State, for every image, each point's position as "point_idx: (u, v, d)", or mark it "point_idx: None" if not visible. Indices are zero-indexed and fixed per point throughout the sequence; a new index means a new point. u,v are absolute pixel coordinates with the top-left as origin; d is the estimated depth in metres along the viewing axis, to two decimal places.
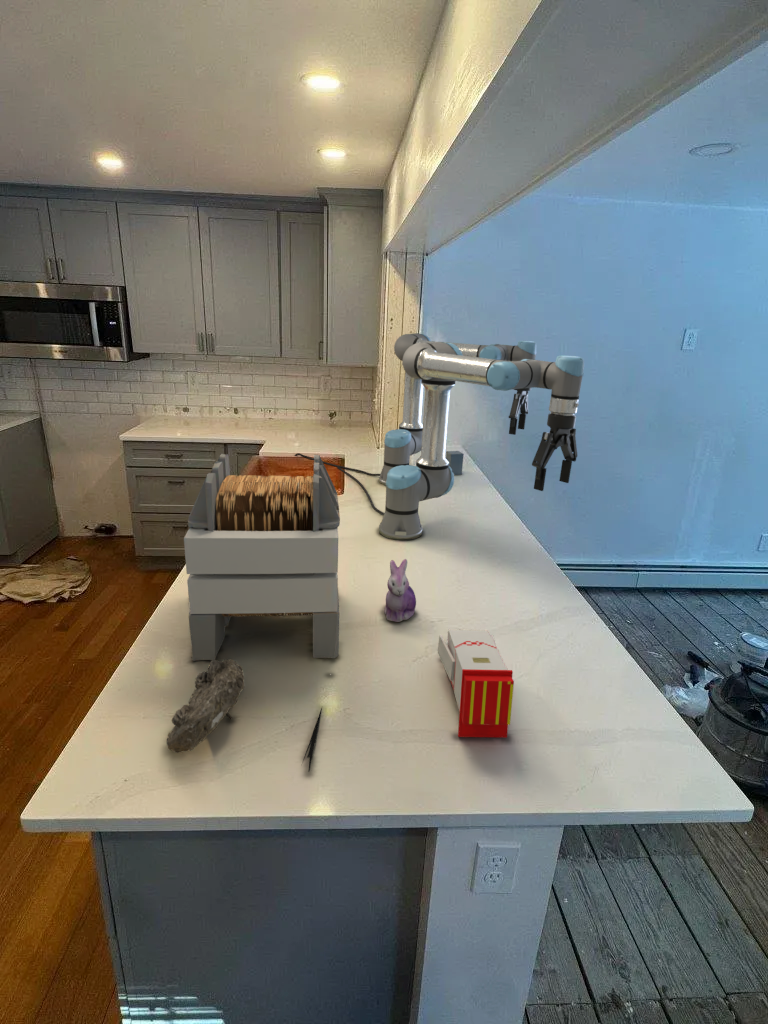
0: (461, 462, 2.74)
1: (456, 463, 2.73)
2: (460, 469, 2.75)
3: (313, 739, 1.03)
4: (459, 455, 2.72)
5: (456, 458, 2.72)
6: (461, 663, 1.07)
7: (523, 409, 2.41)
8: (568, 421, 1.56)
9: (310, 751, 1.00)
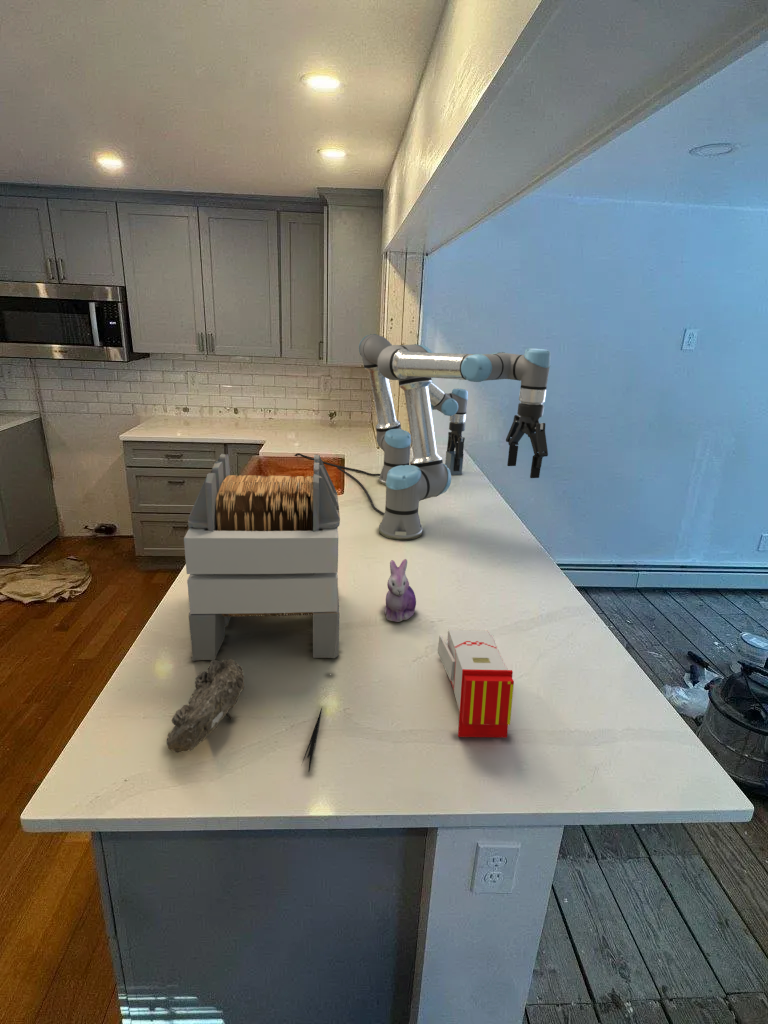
0: (461, 462, 2.74)
1: None
2: (460, 469, 2.75)
3: (313, 739, 1.03)
4: None
5: None
6: (461, 663, 1.07)
7: (452, 448, 2.77)
8: (543, 408, 1.69)
9: (310, 751, 1.00)
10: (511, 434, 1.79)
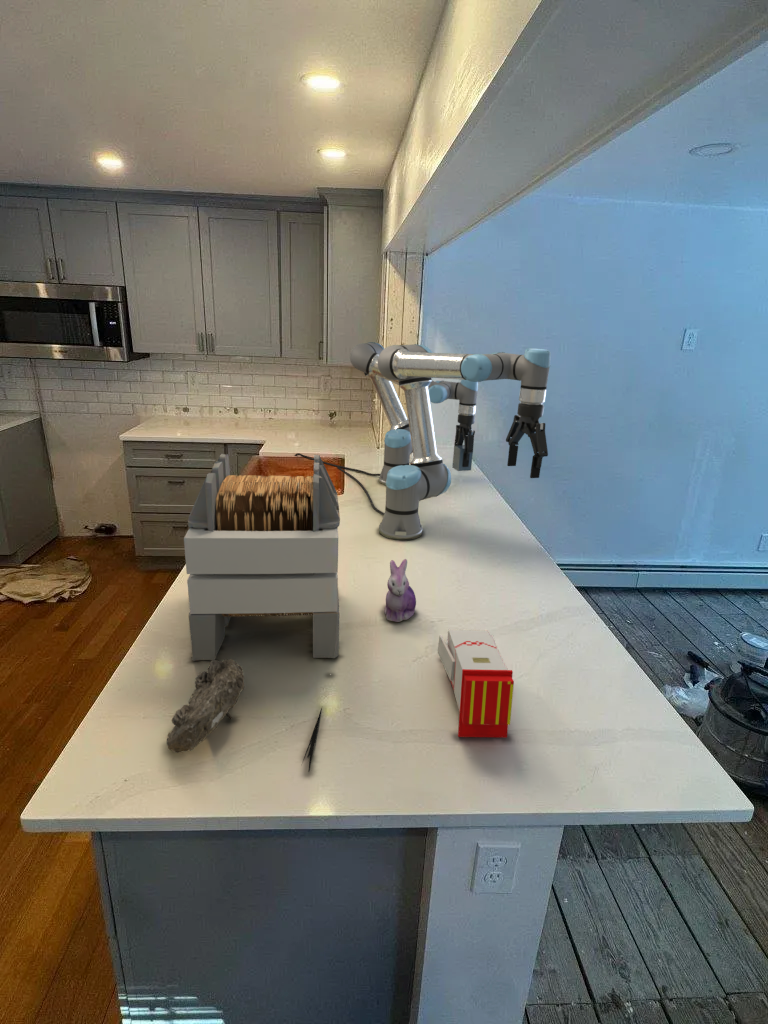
0: (470, 457, 2.56)
1: None
2: (470, 464, 2.57)
3: (313, 739, 1.03)
4: None
5: None
6: (461, 663, 1.07)
7: (461, 442, 2.58)
8: (543, 408, 1.69)
9: (310, 751, 1.00)
10: (511, 434, 1.79)
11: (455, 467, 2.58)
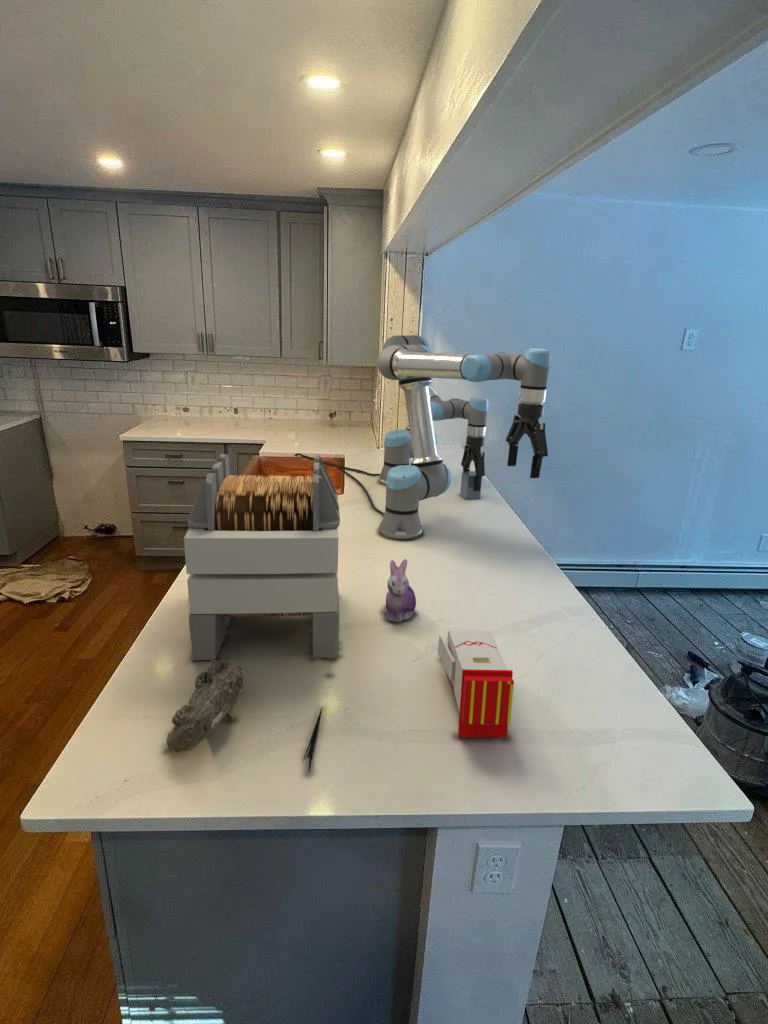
0: None
1: (473, 485, 2.39)
2: (478, 492, 2.41)
3: (313, 739, 1.03)
4: None
5: (473, 480, 2.38)
6: (461, 663, 1.07)
7: (468, 463, 2.43)
8: (543, 408, 1.69)
9: (310, 751, 1.00)
10: (511, 434, 1.79)
11: (463, 495, 2.42)
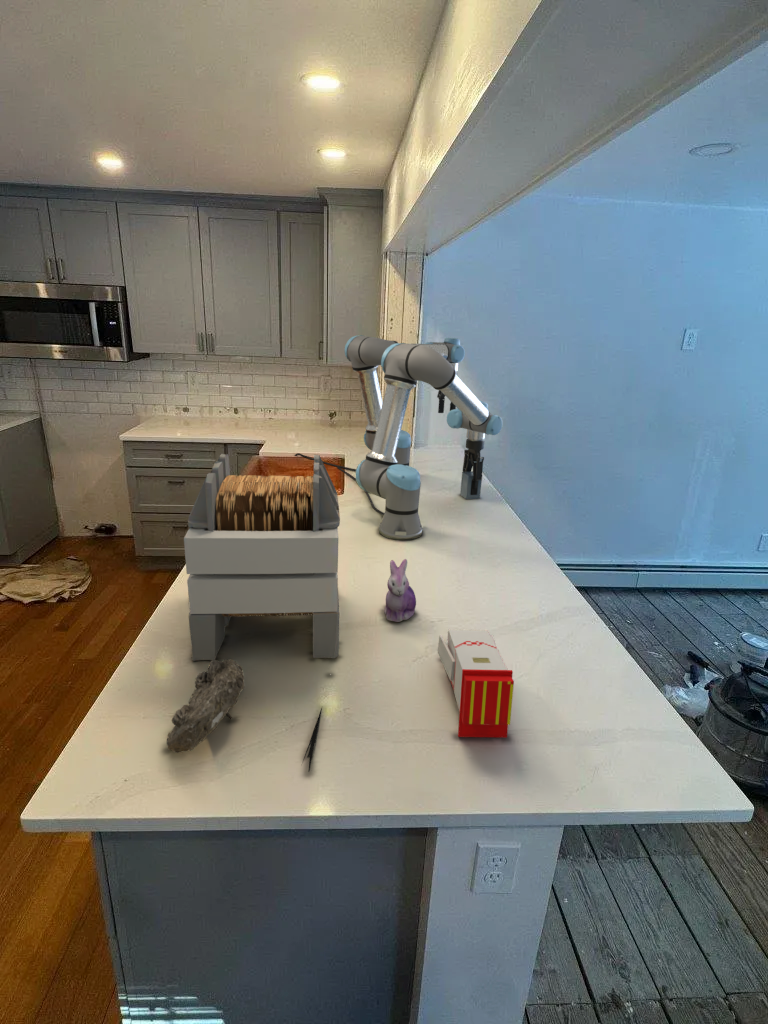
0: (479, 484, 2.40)
1: None
2: (478, 492, 2.41)
3: (313, 739, 1.03)
4: None
5: None
6: (461, 663, 1.07)
7: (443, 395, 2.82)
8: None
9: (310, 751, 1.00)
10: (465, 465, 2.44)
11: (463, 495, 2.42)
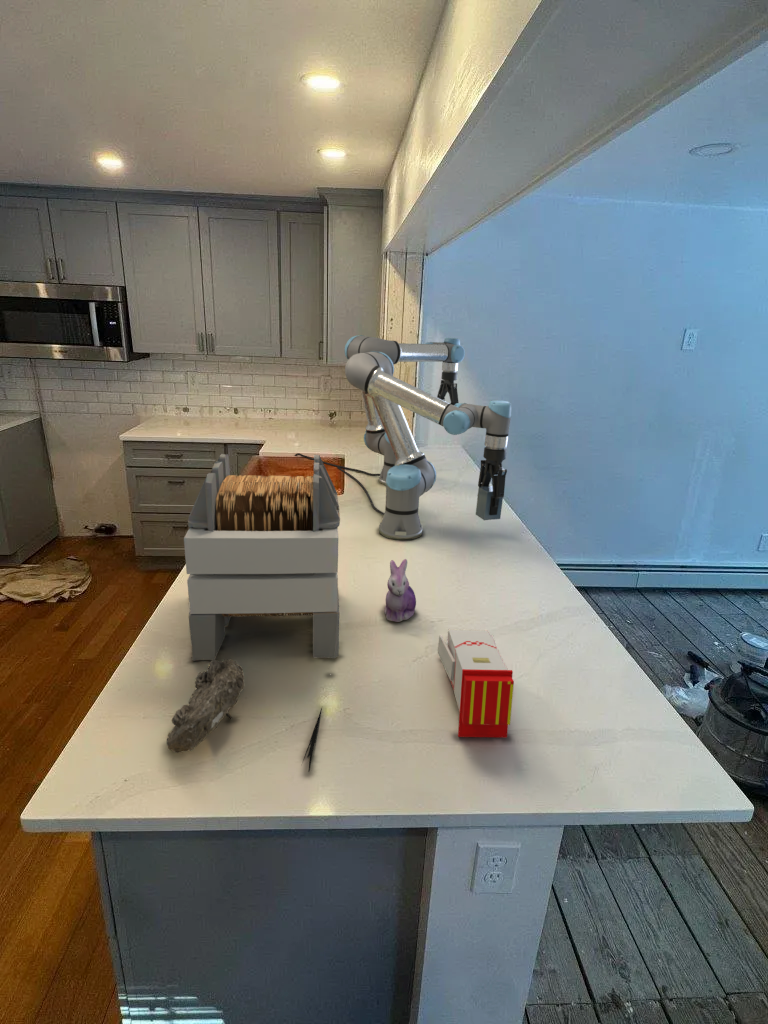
0: (500, 502, 1.97)
1: None
2: (499, 511, 1.98)
3: (313, 739, 1.03)
4: None
5: None
6: (461, 663, 1.07)
7: (443, 395, 2.82)
8: None
9: (310, 751, 1.00)
10: (481, 478, 2.01)
11: (480, 515, 1.99)
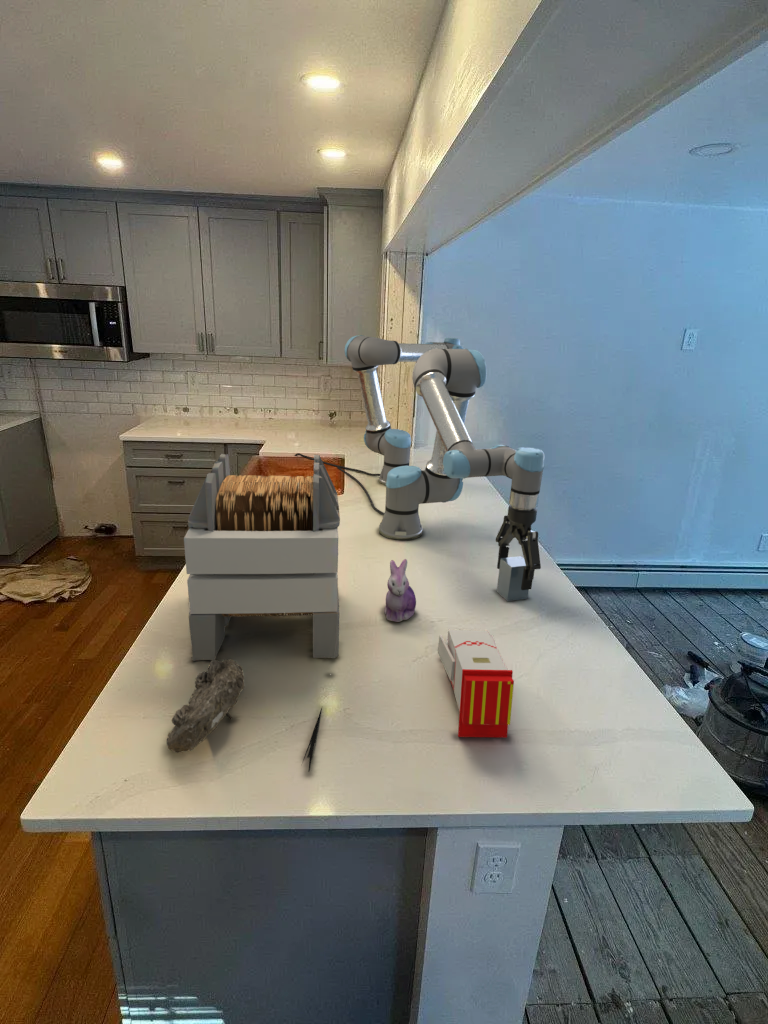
0: None
1: (518, 581, 1.55)
2: (526, 590, 1.57)
3: (313, 739, 1.03)
4: None
5: (519, 573, 1.55)
6: (461, 663, 1.07)
7: None
8: None
9: (310, 751, 1.00)
10: (501, 535, 1.62)
11: (502, 593, 1.59)
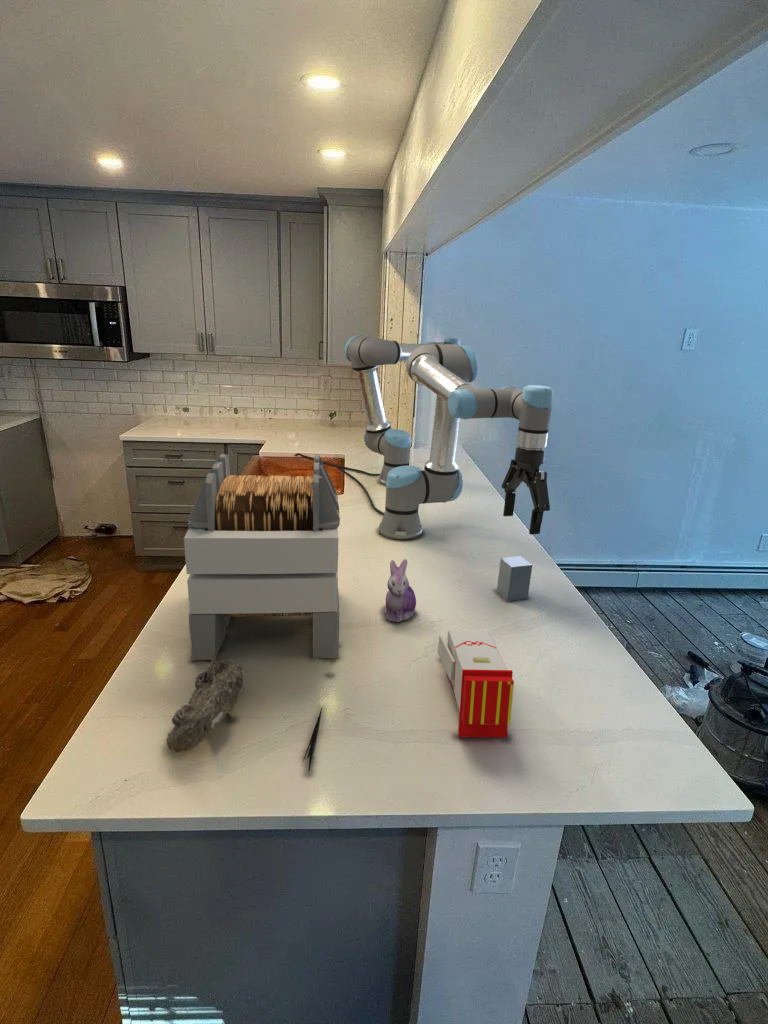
0: (528, 579, 1.56)
1: (518, 581, 1.55)
2: (526, 590, 1.57)
3: (313, 739, 1.03)
4: (525, 568, 1.55)
5: (519, 573, 1.55)
6: (461, 663, 1.07)
7: None
8: None
9: (310, 751, 1.00)
10: (507, 480, 1.56)
11: (502, 593, 1.59)
